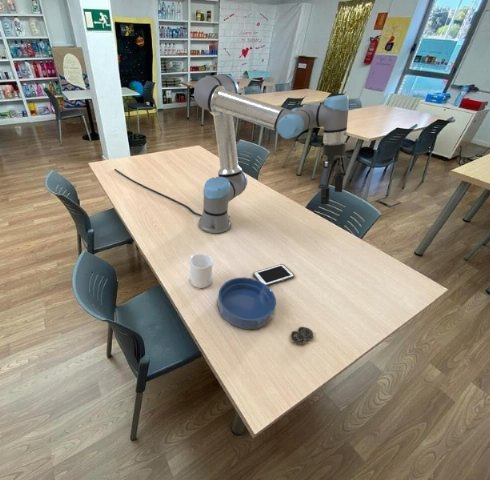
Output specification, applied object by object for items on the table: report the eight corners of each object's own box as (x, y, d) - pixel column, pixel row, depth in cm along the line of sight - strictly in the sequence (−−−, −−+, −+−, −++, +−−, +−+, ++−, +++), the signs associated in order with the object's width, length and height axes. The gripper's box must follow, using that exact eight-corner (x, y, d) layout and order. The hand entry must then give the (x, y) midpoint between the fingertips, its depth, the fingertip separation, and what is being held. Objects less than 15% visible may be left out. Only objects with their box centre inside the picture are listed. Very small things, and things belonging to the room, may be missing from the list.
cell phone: (252, 274, 111) (252, 272, 111) (282, 265, 116) (283, 263, 115) (263, 287, 106) (263, 285, 105) (294, 277, 110) (295, 275, 110)
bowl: (206, 301, 100) (207, 291, 97) (245, 280, 109) (247, 270, 106) (244, 340, 87) (246, 330, 84) (285, 312, 96) (288, 302, 93)
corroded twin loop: (286, 335, 89) (286, 333, 88) (304, 326, 92) (305, 323, 91) (297, 348, 85) (298, 346, 84) (316, 337, 88) (317, 335, 88)
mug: (181, 272, 112) (181, 252, 106) (199, 265, 116) (199, 245, 109) (197, 291, 104) (198, 271, 98) (215, 283, 107) (217, 263, 101)
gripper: (331, 152, 93) (329, 211, 102) (357, 134, 107) (353, 187, 117) (309, 152, 98) (308, 208, 107) (336, 135, 112) (334, 186, 122)
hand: (331, 197), depth 112 cm, fingers open, 13 cm apart
